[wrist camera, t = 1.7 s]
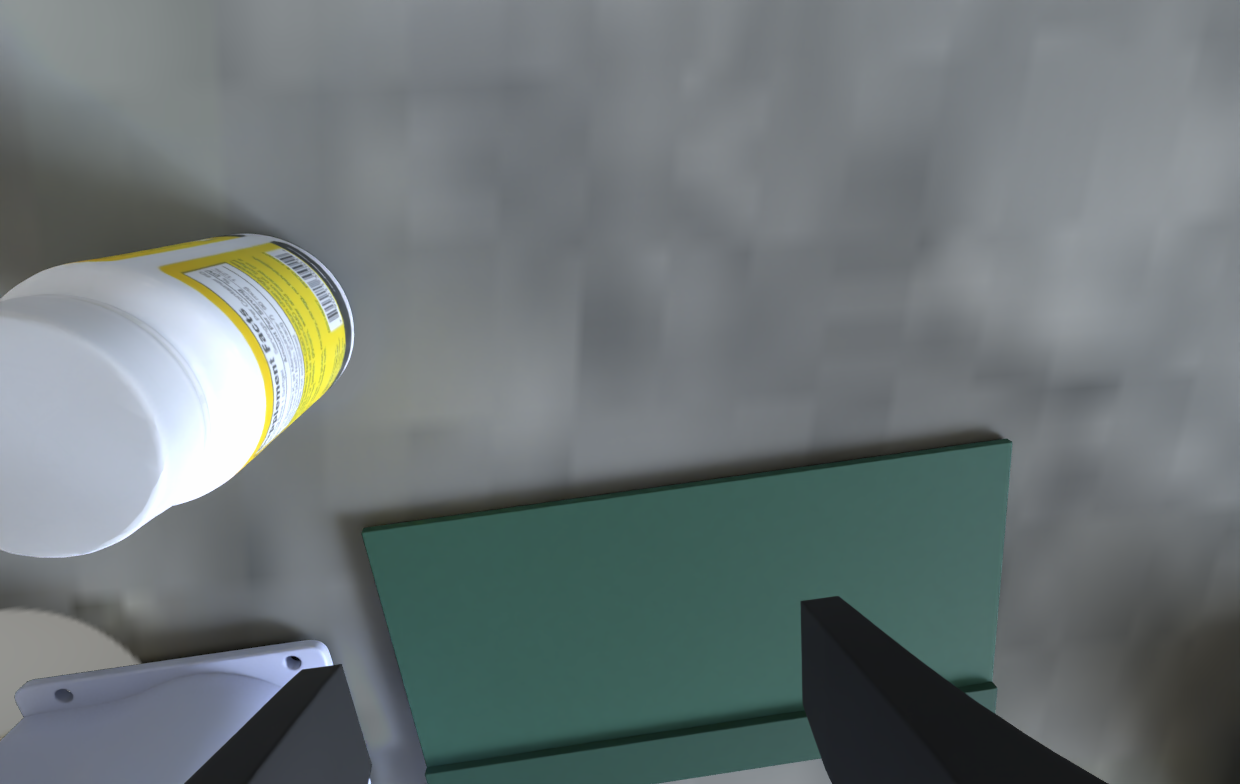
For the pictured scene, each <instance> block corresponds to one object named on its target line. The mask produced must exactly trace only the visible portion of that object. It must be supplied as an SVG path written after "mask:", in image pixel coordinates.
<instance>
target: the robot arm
mask: <svg viewBox="0 0 1240 784" xmlns="http://www.w3.org/2000/svg"><path fill="white" fill-rule="evenodd" d="M800 602H801V653H802V704H803V707H804V710H805V713H806V715H807V718H808V721H809V724H810V727H811V730H812V733H813V736H814V739H815V742H816V744H817V747H818V750H819V753H820V755H821V758H822V761H823V764H824V766H825V769H826V771H827V773H828V776H829V778H830V780H831V782H832V784H1108V783H1106V782H1104V781H1102V780H1101V779H1099V778H1097V777H1096V776H1094V775H1092V774H1091V773H1089V772H1087V771H1085V770H1084V769H1082V768H1080V767H1079V766H1077V765H1075V764H1074V763H1072V762H1070V761H1068V760H1067V759H1065V758H1063V757H1062V756H1060V755H1058V754H1057V753H1055V752H1053V751H1052V750H1050V749H1048V748H1047V747H1045V746H1044V745H1042V744H1040V743H1039V742H1037V741H1036V740H1034V739H1032V738H1031V737H1029V736H1028V735H1026V734H1025V733H1023V732H1022V731H1020V730H1019V729H1017V728H1016V727H1014V726H1013V725H1011V724H1010V723H1008V722H1007V721H1005V720H1004V719H1002V718H1001V717H999V716H998V715H996V714H995V713H993V712H992V711H990V710H989V709H987V708H986V707H984V706H983V705H981V704H980V703H978V702H977V701H975V700H974V699H973V698H971V697H970V696H968V695H967V694H966V693H964V692H963V691H961V690H960V689H958V688H957V687H956V686H954V685H953V684H952V683H950V682H949V681H947V680H946V679H945V678H943V677H942V676H941V675H939V674H938V673H937V672H935V671H934V670H933V669H931V668H930V667H929V666H927V665H926V664H925V663H923V662H922V661H921V660H919V659H918V658H917V657H915V656H914V655H913V654H911V653H910V652H909V651H908V650H906V649H905V648H904V647H902V646H901V645H900V644H899V643H897V642H896V641H895V640H894V639H892V638H891V637H890V636H888V635H887V634H886V633H885V632H883V631H882V630H881V629H880V628H878V627H877V626H876V625H875V624H873V623H872V622H871V621H870V620H868V619H867V618H866V617H865V616H863V615H862V614H861V613H860V612H858V611H857V610H856V609H855V608H853V607H852V606H851V605H849V604H848V603H847V602H846V601H844V600H843V599H842V598H841V597H839V596H833V597H826V598H819V599H812V600H804V601H800ZM290 656H296V657H298V658H299V659H300V661H296V660H294V659H292V658H291V657H290ZM67 690H68V691H67ZM69 691H70V692H69ZM15 701H16V704H17V706H18V707H19V710H20V711H21V713H22V715H23V717H24V718H23V719H22V720H21V721H20V722H19V723H18V724H17V725H16V726H15V727H14V728H13V729H12V730H11V731H10V732H9V733H8V734H7V735H6V736H5V737H3V738H2V739H1V740H0V784H371V781H370V778H369V777H370V772H371V767H372V764H371V761H370V758H369V754H368V751H367V748H366V744H365V741H364V738H363V734H362V731H361V728H360V724H359V721H358V717H357V714H356V711H355V707H354V704H353V701H352V697H351V694H350V691H349V687H348V684H347V681H346V677H345V674H344V671H343V667H342V664H339V665H333V662H332V659H331V656H330V653H329V650H328V648H327V647H326V645H324V644H323V643H322V642H320V641H317V640H304V641H297V642H290V643H283V644H276V645H269V646H262V647H255V648H248V649H241V650H234V651H227V652H220V653H213V654H206V655H199V656H193V657H186V658H179V659H172V660H165V661H158V662H151V663H144V664H137V665H131V666H123V667H117V668H109V669H103V670H96V671H88V672H81V673H75V674H69V675H61V676H54V677H47V678H40V679H33V680H30V681H27V682H26V683H25V684H24V685H23V686H22V687H21V688H20V689H19V690H18V691H17V692H16V693H15Z"/></svg>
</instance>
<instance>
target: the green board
mask: <svg viewBox="0 0 1240 784" xmlns="http://www.w3.org/2000/svg"><path fill="white" fill-rule="evenodd" d="M1011 453H1012V441H1010V440H1008V439H1000V440H993V441H986V442H979V443H971V444H964V445H957V446H950V447H943V448H935V449H928V450H921V451H914V452H907V453H899V454H892V455H885V456H878V457H871V458H863V459H856V460H849V461H842V462H835V463H827V464H820V465H813V466H806V467H799V468H792V469H784V470H777V471H770V472H763V473H756V474H748V475H741V476H734V477H727V478H720V479H712V480H705V481H698V482H691V483H684V484H676V485H669V486H662V487H655V488H648V489H640V490H633V491H626V492H619V493H612V494H604V495H597V496H590V497H583V498H576V499H569V500H561V501H554V502H547V503H540V504H533V505H525V506H518V507H511V508H504V509H497V510H489V511H482V512H475V513H468V514H461V515H453V516H446V517H439V518H432V519H425V520H417V521H410V522H403V523H396V524H389V525H381V526H374V527H367V528H364V529H363V531H362V537H363V541H364V544H365V548H366V551H367V555H368V558H369V562H370V566H371V569H372V573H373V576H374V580H375V583H376V587H377V591H378V594H379V598H380V601H381V605H382V609H383V612H384V616H385V619H386V623H387V626H388V630H389V634H390V637H391V641H392V644H393V648H394V651H395V655H396V659H397V662H398V666H399V669H400V673H401V676H402V680H403V684H404V687H405V691H406V694H407V698H408V702H409V705H410V709H411V712H412V716H413V719H414V723H415V727H416V730H417V734H418V737H419V741H420V744H421V748H422V752H423V755H424V759H425V762H426V766H427V768H426V773H425V777H426V780H427V784H657V783H664V782H670V781H677V780H683V779H690V778H696V777H703V776H709V775H716V774H722V773H729V772H735V771H742V770H748V769H755V768H761V767H768V766H774V765H781V764H787V763H794V762H800V761H807V760H813V759H820V758H821V755H820V753H819V750H818V747H817V744H816V742H815V739H814V736H813V733H812V730H811V727H810V724H809V721H808V718H807V715H806V713H805V710H804V707H803V704H802V653H801V602H800V601H804V600H812V599H819V598H826V597H833V596H839V597H841V598H842V599H843V600H844V601H846V602H847V603H848V604H849V605H851V606H852V607H853V608H855V609H856V610H857V611H858V612H860V613H861V614H862V615H863V616H865V617H866V618H867V619H868V620H870V621H871V622H872V623H873V624H875V625H876V626H877V627H878V628H880V629H881V630H882V631H883V632H885V633H886V634H887V635H888V636H890V637H891V638H892V639H894V640H895V641H896V642H897V643H899V644H900V645H901V646H902V647H904V648H905V649H906V650H908V651H909V652H910V653H911V654H913V655H914V656H915V657H917V658H918V659H919V660H921V661H922V662H923V663H925V664H926V665H927V666H929V667H930V668H931V669H933V670H934V671H935V672H937V673H938V674H939V675H941V676H942V677H943V678H945V679H946V680H947V681H949V682H950V683H952V684H953V685H954V686H956V687H957V688H958V689H960V690H961V691H963V692H964V693H966V694H967V695H968V696H970V697H971V698H973V699H974V700H975V701H977V702H978V703H980V704H981V705H983V706H984V707H986V708H987V709H989V710H990V711H992V712H993V713H995V710H996V698H997V687H996V686H995V685H994V683H993V682H992V677H993V665H994V654H995V642H996V630H997V618H998V606H999V595H1000V583H1001V571H1002V559H1003V547H1004V536H1005V524H1006V512H1007V500H1008V488H1009V477H1010V465H1011Z"/></svg>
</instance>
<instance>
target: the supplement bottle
mask: <svg viewBox="0 0 1240 784" xmlns="http://www.w3.org/2000/svg"><path fill="white" fill-rule="evenodd" d="M353 342H354V324H353V318H352V313H351V309H350V306H349V303H348V300H347V297H346V295H345V293H344V291H343V290H342V288H341V286H340V285H339V283H338V282H337V280H336V279H335V277H334V276H333V275H332V274H331V272H330V271H329V270H328V269H327V268H326V267H325V266H324V265H323V264H322V263H321V262H320V261H319V260H317V259H316V258H315V257H314V256H312V255H311V254H309V253H308V252H306V251H305V250H303V249H301V248H300V247H298V246H296V245H294V244H291V243H289V242H287V241H284V240H281V239H278V238H275V237H271V236H265V235H259V234H232V235H224V236H217V237H213V238H207V239H202V240H197V241H192V242H187V243H181V244H176V245H171V246H165V247H160V248H155V249H149V250H144V251H138V252H133V253H127V254H121V255H116V256H110V257H104V258H98V259H92V260H85V261H79V262H73V263H68V264H63V265H59V266H55V267H52V268H49V269H46V270H44V271H41V272H39V273H37V274H35V275H33V276H32V277H30V278H28V279H26V280H25V281H23V282H21V283H19V284H18V285H16V286H15V287H14V288H12V289H11V290H10V291H9V292H7V293H6V294H5V295H4V296H3V297H2V298H1V299H0V550H2V551H5V552H9V553H13V554H18V555H23V556H31V557H40V558H60V557H71V556H78V555H83V554H88V553H92V552H96V551H98V550H101V549H103V548H106V547H109V546H111V545H113V544H115V543H117V542H119V541H121V540H123V539H125V538H126V537H128V536H129V535H131V534H132V533H133V532H135V531H136V530H137V529H139V528H140V527H141V526H143V525H144V524H146V523H147V522H148V521H150V520H151V519H153V518H154V517H155V516H157V515H159V514H160V513H162V512H163V511H165V510H166V509H168V508H169V507H171V506H173V505H178V504H182V503H185V502H188V501H191V500H194V499H196V498H199V497H201V496H203V495H205V494H207V493H209V492H211V491H212V490H214V489H216V488H217V487H219V486H221V485H222V484H224V483H225V482H227V481H228V480H229V479H231V478H232V477H233V476H234V475H236V474H237V473H238V472H239V471H240V470H241V469H242V468H243V467H244V466H246V465H247V464H248V463H249V462H250V461H251V460H252V459H253V458H254V457H255V456H257V455H258V454H259V453H260V452H261V451H262V450H263V449H264V448H265V447H266V446H267V445H268V444H269V443H270V442H271V441H273V440H274V439H275V438H276V437H277V436H278V435H279V434H280V433H281V432H283V431H284V430H285V429H286V428H287V427H288V426H289V425H290V424H291V423H293V422H294V421H295V420H296V419H297V418H298V417H299V416H300V415H301V414H302V413H303V412H305V411H306V410H307V409H308V408H309V407H310V406H311V405H312V404H313V403H314V402H316V401H317V400H318V399H319V398H320V397H321V396H322V395H323V394H324V393H325V392H326V391H327V390H328V389H329V388H331V387H332V385H333V384H334V383H335V382H336V381H337V380H338V378H339V377H340V376H341V374H342V373H343V371H344V370H345V368H346V366H347V364H348V361H349V359H350V356H351V353H352V349H353Z"/></svg>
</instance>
